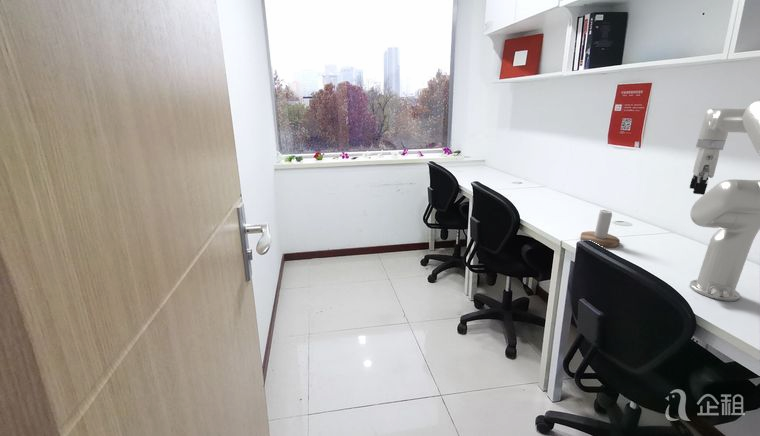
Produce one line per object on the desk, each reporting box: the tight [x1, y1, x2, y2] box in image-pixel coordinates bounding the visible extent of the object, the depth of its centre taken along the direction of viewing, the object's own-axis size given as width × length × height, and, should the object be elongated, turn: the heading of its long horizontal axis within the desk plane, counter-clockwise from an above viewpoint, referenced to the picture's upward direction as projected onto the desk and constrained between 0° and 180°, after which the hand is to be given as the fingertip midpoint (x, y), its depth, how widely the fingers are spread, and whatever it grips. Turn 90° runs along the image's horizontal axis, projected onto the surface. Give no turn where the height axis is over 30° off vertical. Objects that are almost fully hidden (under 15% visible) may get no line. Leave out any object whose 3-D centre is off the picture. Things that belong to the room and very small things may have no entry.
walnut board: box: [579, 230, 621, 249], centre depth 165 cm, size 15×15×2 cm
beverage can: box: [594, 209, 613, 239], centre depth 162 cm, size 5×5×12 cm
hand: (696, 191), depth 138 cm, fingers open, 9 cm apart
